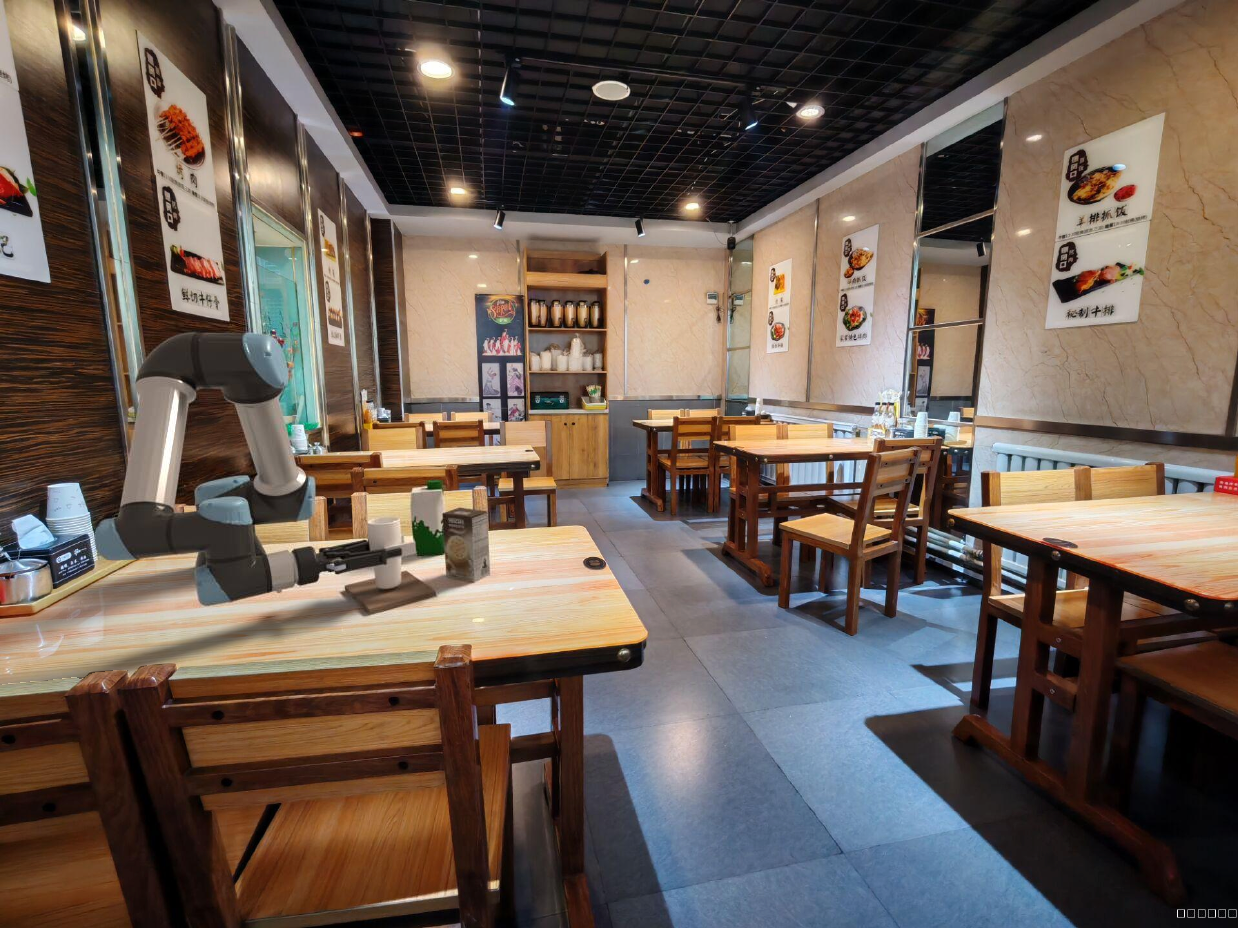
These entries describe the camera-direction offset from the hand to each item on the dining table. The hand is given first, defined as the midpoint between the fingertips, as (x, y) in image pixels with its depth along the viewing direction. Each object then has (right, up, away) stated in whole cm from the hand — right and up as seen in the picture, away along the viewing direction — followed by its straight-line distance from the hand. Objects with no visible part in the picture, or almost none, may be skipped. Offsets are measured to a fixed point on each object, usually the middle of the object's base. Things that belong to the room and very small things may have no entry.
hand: (409, 544), depth 123 cm
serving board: (-4, -11, -2) cm, 11 cm away
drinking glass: (-4, -9, -2) cm, 10 cm away
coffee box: (+11, -9, +9) cm, 17 cm away
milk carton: (-5, -6, +28) cm, 29 cm away
